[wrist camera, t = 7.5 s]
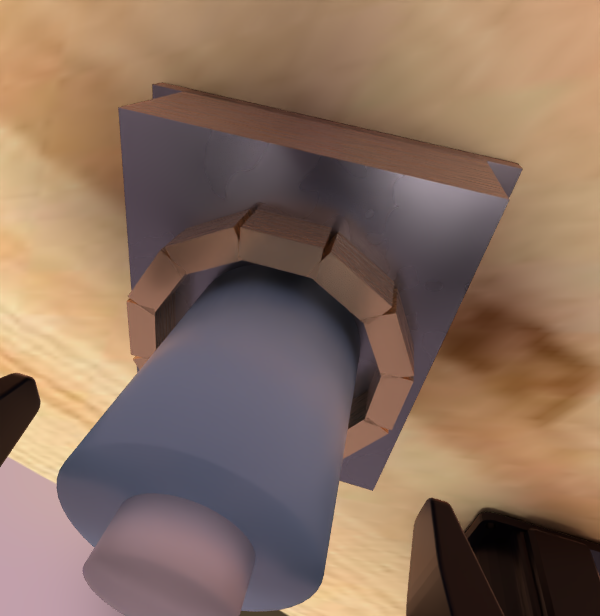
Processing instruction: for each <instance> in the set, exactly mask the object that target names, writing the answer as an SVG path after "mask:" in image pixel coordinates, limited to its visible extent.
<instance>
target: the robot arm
mask: <svg viewBox="0 0 600 616" xmlns="http://www.w3.org/2000/svg"><path fill="white" fill-rule="evenodd" d="M39 408H40V397H39V393H38V390H37V386H36V382H35V380H34V379H33V378H32V377H30V376H27V375H23V374H20V373H13V374H9V375H7V376H4V377H2V378H0V467H1V465H2V464H3V462H4V461H5V459H6V458H7V457H8V455H9V454H10V452H11V451H12V449H13V448H14V446H15V445H16V443H17V442H18V440H19V439H20V437H21V436H22V434H23V433H24V431H25V430H26V428H27V427H28V425H29V424H30V423H31V421H32V420H33V418H34V417H35V415H36V414H37V412H38V410H39ZM406 616H600V544H596V543H593V542H590V541H586V540H583V539H580V538H576V537H573V536H570V535H566V534H563V533H560V532H556V531H553V530H550V529H547V528H543V527H540V526H537V525H533V524H530V523H527V522H523V521H520V520H517V519H513V518H510V517H507V516H503V515H500V514H497V513H493V512H483V513H481V514H480V515H479V516H478V517H477V518H476V519H475V521H474V522H473V523H472V525H471V526H470V527H469V529H468V530H467V531H466V532H465V534H464V532H463V530H462V528H461V525H460V523H459V521H458V519H457V517H456V515H455V513H454V511H453V509H452V507H451V506H450V505H449V504H448V503H447V502H445V501H441V500H438V499H435V498H429V499H428V500H427V501H426V503H425V504H424V506H423V508H422V509H421V511H420V512H419V514H418V516H417V518H416V520H415V524H414V530H413V540H412V551H411V561H410V572H409V582H408V592H407V605H406Z"/></svg>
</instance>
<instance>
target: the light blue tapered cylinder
mask: <svg viewBox="0 0 600 616" xmlns="http://www.w3.org/2000/svg"><path fill="white" fill-rule="evenodd" d="M359 356H360V337H359V333H358V329H357V326H356V323H355V321H354V319H353V316H352V315H351V313H350V311H349V310H348V309H347V308H345V307H344V306H343V305H342V304H341V303H340V302H338V301H337V300H336V299H335V298H334V297H333V296H332V295H330V294H329V293H328V292H327V291H326V290H325V289H323V288H322V287H321V286H320V285H319V284H318V283H317V282H315V281H314V280H313V279H312V278H309V277H305V276H301V275H298V274H294V273H290V272H286V271H282V270H279V269H275V268H271V267H267V266H263V265H260V264H254V265H247V266H242V267H238V268H235V269H232V270H230V271H228V272H226V273H224V274H222V275H221V276H219V277H218V278H216V279H215V280H214V281H213V282H212V283H211V284H210V285H209V286H208V287H207V288H206V289H205V291H204V292H203V293H202V294H201V295H200V297H199V298H198V299H197V300H196V302H195V303H194V304H193V305H192V306H191V308H190V309H189V310H188V311H187V313H186V314H185V315H184V316H183V318H182V319H181V320H180V321H179V322H178V324H177V325H176V326H175V327H174V329H173V330H172V331H171V332H170V334H169V335H168V336H167V337H166V338H165V340H164V341H163V342H162V343H161V345H160V346H159V347H158V348H157V349H156V351H155V352H154V353H153V354H152V356H151V357H150V358H149V359H148V361H147V362H146V363H145V364H144V365H143V367H142V368H141V369H140V370H139V372H138V373H137V374H136V375H135V376H134V378H133V379H132V380H131V381H130V383H129V384H128V385H127V386H126V388H125V389H124V390H123V391H122V392H121V394H120V395H119V396H118V397H117V399H116V400H115V401H114V402H113V403H112V405H111V406H110V407H109V408H108V410H107V411H106V412H105V413H104V415H103V416H102V417H101V418H100V419H99V421H98V422H97V423H96V424H95V426H94V427H93V428H92V429H91V431H90V432H89V433H88V434H87V435H86V437H85V438H84V439H83V440H82V442H81V443H80V444H79V445H78V446H77V448H76V449H75V450H74V451H73V453H72V454H71V455H70V456H69V458H68V459H67V460H66V461H65V462H64V464H63V466H62V467H61V469H60V470H59V474H58V477H57V493H58V498H59V500H60V503H61V506H62V508H63V510H64V512H65V513H66V515H67V517H68V519H69V520H70V521H71V522H72V524H73V525H74V527H75V528H76V529H77V530H78V531H79V532H80V534H81V535H82V536H83V537H84V538H85V539H86V540H87V541H88V542H89V543H90V544H91V545H92V546H93V547H95V548H94V550H93V551H92V553H91V555H90V556H89V558H88V559H87V561H86V562H85V564H84V567H83V575H84V578H85V580H86V582H87V583H88V585H89V586H90V588H91V589H92V590H93V591H94V592H95V593H96V594H97V595H98V596H99V597H100V598H101V599H102V600H103V601H104V602H106V603H107V604H108V605H110V606H111V607H113V608H114V609H116V610H117V611H119V612H120V613H122V614H124V615H125V616H239V615H240V611H272V610H280V609H285V608H289V607H292V606H295V605H297V604H300V603H302V602H304V601H305V600H307V599H309V598H310V597H311V596H312V595H313V594H314V593H315V592H316V591H317V590H318V588H319V586H320V585H321V583H322V579H323V576H324V570H325V564H326V558H327V552H328V546H329V540H330V533H331V527H332V521H333V515H334V509H335V503H336V497H337V491H338V485H339V478H340V472H341V466H342V460H343V454H344V448H345V442H346V436H347V430H348V424H349V417H350V411H351V405H352V399H353V393H354V387H355V381H356V375H357V369H358V362H359Z"/></svg>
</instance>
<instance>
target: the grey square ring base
mask: <svg viewBox="0 0 600 616" xmlns="http://www.w3.org/2000/svg"><path fill="white" fill-rule="evenodd" d="M152 86H153V99H151V100H147V101H143V102H139V103H134V104H130V105H126V106H122V107H118V108H119V122H120V136H121V150H122V164H123V178H124V192H125V206H126V219H127V233H128V247H129V261H130V275H131V289H132V291H131V293H130V294H129V296H128V297H129V298H130V299H129V300H128V301H127V312H128V324H129V336H130V348H131V354H132V355H135V357H134V358H133V360H134V362H135V363H136V365H137V373H138V372H139V370H140V369H141V368H142V367H143V365H144V364H145V363H146V362H147V361H148V359H149V358H150V357H151V356H152V354H153V353H154V352H155V351H156V349H157V348H158V347H159V346H160V345H161V343H162V342H163V341H164V340H165V338H166V337H167V336H168V335H169V334H170V332H171V331H172V330H173V329H174V327H175V326H176V325H177V324H178V322H179V321H180V320H181V319H182V318H183V316H184V315H185V314H186V313H187V311H188V310H189V309H190V308H191V306H192V305H193V304H194V303H195V302H196V300H197V299H198V298H199V297H200V295H201V294H202V293H203V292H204V291H205V289H206V288H207V287H208V286H209V285H210V284H211V283H212V282H213V281H214V280H215V279H216V278H218V277H219V276H221V275H222V274H224V273H226V272H228V271H230V270H232V269H235V268H238V267H242V266H247V265H254V264H260V265H263V266H267V267H271V268H275V269H279V270H282V271H286V272H290V273H294V274H298V275H301V276H305V277H309V278H312V279H313V280H314V281H315V282H317V283H318V284H319V285H320V286H321V287H322V288H323V289H325V290H326V291H327V292H328V293H329V294H330V295H332V296H333V297H334V298H335V299H336V300H337V301H338V302H340V303H341V304H342V305H343V306H344V307H345V308H347V309H348V310H349V311H350V313H351V315H352V316H353V319H354V321H355V323H356V326H357V329H358V333H359V337H360V356H359V362H358V369H357V375H356V381H355V387H354V393H353V399H352V405H351V411H350V417H349V424H348V430H347V436H346V442H345V448H344V454H343V460H342V466H341V472H340V478H339V481H343V482H346V483H349V484H353V485H356V486H359V487H362V488H366V489H369V490H372V491H373V489H374V487H375V485H376V483H377V481H378V479H379V477H380V474H381V472H382V470H383V468H384V466H385V464H386V462H387V460H388V457H389V455H390V453H391V451H392V449H393V447H394V445H395V442H396V440H397V438H398V436H399V434H400V432H401V430H402V428H403V425H404V423H405V421H406V419H407V417H408V415H409V413H410V411H411V408H412V406H413V404H414V402H415V400H416V398H417V396H418V393H419V391H420V389H421V387H422V385H423V383H424V381H425V379H426V376H427V374H428V372H429V370H430V368H431V366H432V364H433V362H434V359H435V357H436V355H437V353H438V351H439V349H440V347H441V344H442V342H443V340H444V338H445V336H446V334H447V332H448V330H449V327H450V325H451V323H452V321H453V319H454V317H455V315H456V313H457V310H458V308H459V306H460V304H461V302H462V300H463V298H464V295H465V293H466V291H467V289H468V287H469V285H470V283H471V281H472V278H473V276H474V274H475V272H476V270H477V268H478V266H479V264H480V261H481V259H482V257H483V255H484V253H485V251H486V249H487V246H488V244H489V242H490V240H491V238H492V236H493V234H494V232H495V229H496V227H497V225H498V223H499V221H500V219H501V217H502V215H503V212H504V210H505V208H506V206H507V204H508V202H509V197H510V195H511V193H512V191H513V188H514V186H515V184H516V182H517V180H518V178H519V176H520V174H521V171H522V168H521V166H520V165H519V164H518V163H513V162H509V161H504V160H500V159H496V158H491V157H487V156H482V155H478V154H474V153H469V152H465V151H461V150H456V149H452V148H447V147H443V146H439V145H434V144H430V143H425V142H421V141H417V140H412V139H408V138H403V137H399V136H395V135H390V134H386V133H382V132H377V131H373V130H368V129H364V128H360V127H355V126H351V125H346V124H342V123H338V122H333V121H329V120H324V119H320V118H316V117H311V116H307V115H303V114H298V113H294V112H289V111H285V110H281V109H276V108H272V107H267V106H263V105H259V104H254V103H250V102H245V101H241V100H237V99H232V98H228V97H224V96H219V95H215V94H210V93H206V92H202V91H197V90H193V89H188V88H184V87H180V86H175V85H171V84H166V83H157V84H152Z"/></svg>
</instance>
